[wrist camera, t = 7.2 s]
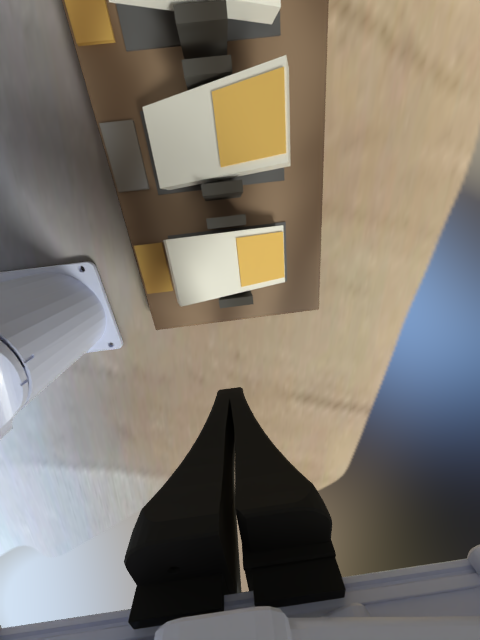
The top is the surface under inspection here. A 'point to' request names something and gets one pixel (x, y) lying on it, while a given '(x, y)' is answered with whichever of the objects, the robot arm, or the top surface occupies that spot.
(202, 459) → the robot arm
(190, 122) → the rocker middle
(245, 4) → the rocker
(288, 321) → the top surface
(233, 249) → the block
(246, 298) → the switch panel
